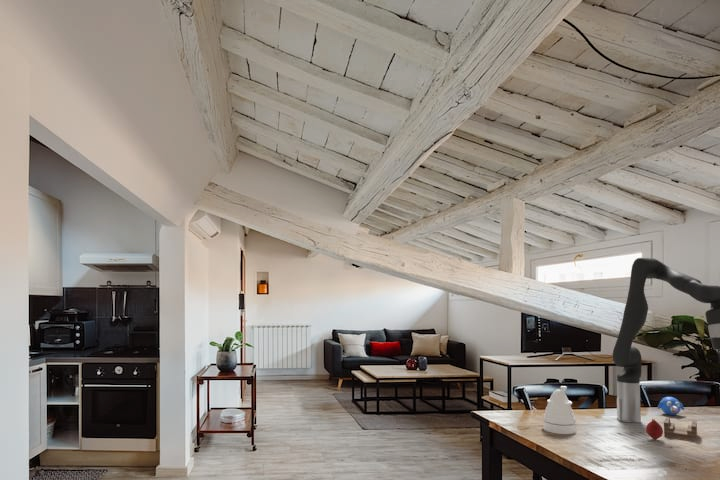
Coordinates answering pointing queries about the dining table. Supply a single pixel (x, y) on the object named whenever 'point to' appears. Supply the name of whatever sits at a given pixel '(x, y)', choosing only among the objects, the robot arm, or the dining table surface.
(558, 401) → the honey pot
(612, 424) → the dining table surface
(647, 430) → the pomegranate
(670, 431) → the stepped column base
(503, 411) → the dining table surface
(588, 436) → the dining table surface
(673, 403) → the blue mole toy
